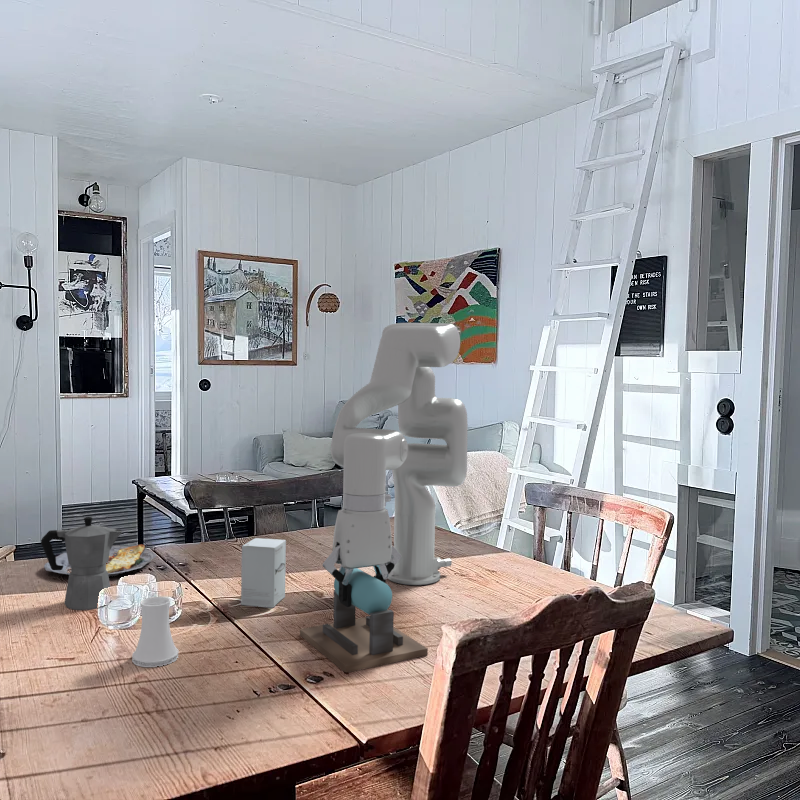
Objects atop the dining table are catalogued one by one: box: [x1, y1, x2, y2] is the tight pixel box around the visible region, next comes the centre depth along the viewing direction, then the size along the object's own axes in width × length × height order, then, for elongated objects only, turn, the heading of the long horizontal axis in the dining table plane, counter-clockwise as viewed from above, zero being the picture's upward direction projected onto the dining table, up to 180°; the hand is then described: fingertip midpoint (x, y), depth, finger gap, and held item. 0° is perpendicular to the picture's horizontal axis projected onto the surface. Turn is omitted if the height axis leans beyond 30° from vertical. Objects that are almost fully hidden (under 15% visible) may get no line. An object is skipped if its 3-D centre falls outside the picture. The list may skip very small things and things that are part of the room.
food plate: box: [43, 543, 157, 577], centre depth 186 cm, size 25×23×4 cm
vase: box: [131, 596, 179, 668], centre depth 132 cm, size 8×8×10 cm
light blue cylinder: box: [333, 568, 393, 616], centre depth 139 cm, size 11×6×6 cm, turn 31°
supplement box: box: [240, 537, 287, 609], centre depth 162 cm, size 7×7×13 cm
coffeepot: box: [40, 516, 123, 611], centre depth 158 cm, size 15×9×18 cm, turn 110°
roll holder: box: [299, 589, 429, 673], centre depth 139 cm, size 16×19×8 cm
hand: (362, 601), depth 139 cm, fingers closed on light blue cylinder, 5 cm apart
